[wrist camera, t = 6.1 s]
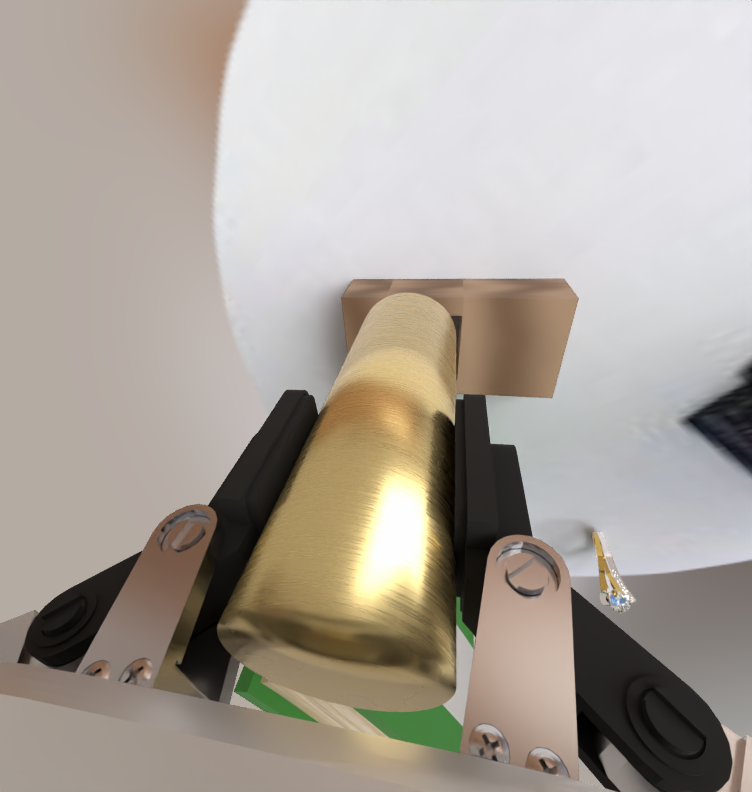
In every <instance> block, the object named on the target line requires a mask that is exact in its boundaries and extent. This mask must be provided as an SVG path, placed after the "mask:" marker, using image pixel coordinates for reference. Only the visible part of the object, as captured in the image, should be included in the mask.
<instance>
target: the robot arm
mask: <svg viewBox="0 0 752 792" xmlns="http://www.w3.org/2000/svg"><path fill="white" fill-rule="evenodd" d="M317 417H318V412H317V408H316V403H315V399H314V397H313V396H312V395H309V394H308V392H307V391H306V390H286V391H285V392H284V394H283V395H282V397H281V398H280V400H279V401H278V403H277V404H276V406H275V407H274V409H273V410H272V412H271V413H270V415H269V417H268V418H267V420H266V421H265V423H264V424H263V426H262V427H261V429H260V430H259V432H258V433H257V434H256V435H255V436H254V437H253V438H252V440H251V441H250V443H249V444H248V446H247V447H246V449H245V450H244V452H243V453H242V455H241V456H240V458H239V459H238V461H237V463H236V464H235V466H234V467H233V469H232V470H231V472H230V473H229V474H228V476H227V478H226V479H225V481H224V482H223V484H222V485H221V487H220V488H219V490H218V491H217V493H216V494H215V496H214V497H213V499H212V500H211V502H210V503H209V505H208V506H207V505H200V504H196V505H190V506H186V507H183V508H181V509H179V510H176V511H175V512H173V513H172V514H170V515H169V516H167V517H166V518H165V519H164V520H163V521H162V522H161V523H159V525H158V526H157V527H156V529H155V530H154V532H153V533H152V535H151V537H150V539H149V540H148V542H147V544H146V546H145V548H144V549H143V551H141V552H139V553H137V554H135V555H133V556H131V557H129V558H127V559H125V560H123V561H122V562H120V563H118V564H116V565H114V566H112V567H110V568H108V569H106V570H104V571H102V572H100V573H99V574H97V575H95V576H93V577H91V578H89V579H87V580H85V581H83V582H81V583H79V584H78V585H76V586H74V587H72V588H70V589H68V590H66V591H65V592H63V593H62V594H60V595H59V596H57V597H56V598H54V599H53V600H52V601H51V602H50V603H48V604H47V605H46V606H45V607H44V608H43V609H42V610H41V611H40V613H38V612H37V611H36V610H34V611H31V612H29V613H26V614H24V615H21V616H19V617H16V618H13V619H11V620H8V621H6V622H3V623H0V792H752V737H750V736H749V735H746V736H744V737H743V738H741V737H740V736H738V735H737V734H735V733H734V732H733V731H731V730H730V729H728V728H726V727H725V726H723V725H722V724H721V723H720V722H719V720H718V719H717V717H716V716H715V715H714V713H713V712H712V710H711V709H710V707H709V706H708V705H707V703H705V701H703V699H701V697H700V696H699V695H698V694H696V692H695V691H694V690H693V689H691V688H690V687H689V686H688V685H687V684H686V683H685V682H683V681H682V680H681V679H680V678H679V677H677V676H676V675H675V674H674V673H673V672H672V671H670V670H669V669H668V668H667V667H666V666H664V665H663V664H662V663H661V662H660V661H658V660H657V659H656V658H655V657H653V656H652V655H651V654H650V653H649V652H648V651H647V650H645V649H644V648H643V647H642V646H641V645H639V644H638V643H637V642H636V641H635V640H633V639H632V638H631V637H630V636H629V635H628V634H626V633H625V632H624V631H623V630H622V629H620V628H619V627H618V626H617V625H615V624H614V623H613V622H612V621H611V620H610V619H608V618H607V617H606V616H605V615H604V614H603V613H601V612H600V611H599V610H598V609H596V608H595V607H594V606H593V605H592V604H591V603H589V602H588V601H587V600H586V599H585V598H583V597H582V596H581V595H580V594H579V593H578V592H576V591H575V590H574V589H573V588H571V584H570V583H571V582H570V576H569V572H568V568H567V566H566V564H565V563H564V561H563V559H562V557H561V556H560V555H559V554H558V553H557V552H556V551H555V550H554V549H553V548H552V547H550V546H549V545H547V544H546V543H544V542H543V541H541V540H539V539H536V538H533V536H532V531H531V526H530V521H529V515H528V510H527V505H526V499H525V494H524V489H523V483H522V478H521V473H520V467H519V462H518V457H517V451H516V448H515V446H514V445H502V444H490V436H489V427H488V418H487V409H486V400H485V395H469V394H464V398H463V400H458V399H456V404H455V439H454V554H455V557H456V597H460V612H462V622H463V623H464V624H465V625H466V626H467V627H468V629H469V630H470V631H471V632H472V633H473V634H474V635H475V637H476V640H475V646H474V653H473V660H472V667H471V674H470V681H469V688H468V695H467V702H466V709H465V716H464V723H463V730H462V737H461V744H460V751H459V753H456V752H451V751H447V750H442V749H437V748H433V747H428V746H423V745H419V744H414V743H410V742H405V741H400V740H396V739H391V738H386V737H382V736H377V735H372V734H368V733H363V732H358V731H354V730H349V729H344V728H340V727H335V726H330V725H325V724H321V723H316V722H311V721H306V720H302V719H297V718H292V717H287V716H283V715H278V714H273V713H268V712H264V711H259V710H254V709H249V708H245V707H240V706H235V705H230V700H231V696H232V692H233V688H234V684H235V680H236V676H237V672H238V668H239V664H240V662H239V661H238V660H236V659H235V658H234V657H233V656H232V655H231V654H230V653H229V652H228V651H227V650H226V649H225V648H224V646H223V645H222V643H221V642H220V640H219V637H218V634H217V626H218V622H219V620H220V618H221V616H222V614H223V612H224V610H225V608H226V606H227V604H228V602H229V600H230V598H231V596H232V593H233V591H234V589H235V587H236V585H237V583H238V581H239V579H240V577H241V575H242V573H243V571H244V569H245V567H246V564H247V562H248V560H249V558H250V556H251V554H252V552H253V550H254V548H255V546H256V544H257V542H258V540H259V538H260V536H261V533H262V531H263V529H264V527H265V525H266V523H267V521H268V519H269V517H270V515H271V513H272V511H273V509H274V507H275V504H276V502H277V500H278V498H279V496H280V494H281V492H282V490H283V488H284V486H285V484H286V482H287V480H288V478H289V475H290V473H291V471H292V469H293V467H294V465H295V463H296V461H297V459H298V457H299V455H300V453H301V451H302V449H303V446H304V444H305V442H306V440H307V438H308V436H309V434H310V432H311V430H312V428H313V426H314V424H315V422H316V420H317ZM578 757H579V758H580V759H581V760H582V762H583V763H584V764H585V765H586V766H587V767H588V768H589V770H590V771H591V772H592V773H593V774H594V776H595V777H596V778H597V779H598V780H599V781H600V783H601V784H602V785H603V786H604V787H605V788H602V787H599V786H595V785H592V784H588V783H585V782H581V781H579V767H578V766H579V765H578Z"/></svg>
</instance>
